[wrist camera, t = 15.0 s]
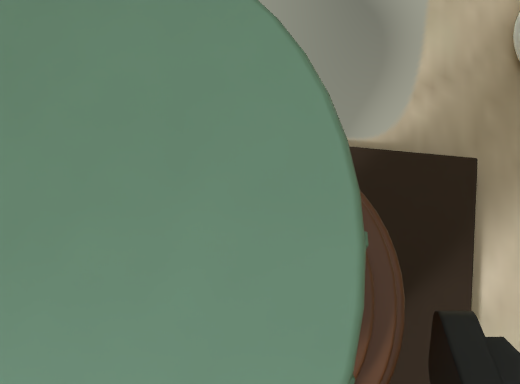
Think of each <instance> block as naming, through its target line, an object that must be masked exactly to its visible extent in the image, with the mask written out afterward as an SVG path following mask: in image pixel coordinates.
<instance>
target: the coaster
mask: <svg viewBox="0 0 520 384" xmlns="http://www.w3.org/2000/svg"><path fill="white" fill-rule="evenodd" d="M349 148H350V152H351V156H352V160H353V164H354V168H355V172H356V177H357V181H358V185H359V189H360V191H361V192H362V193H363V194H364V195H365V197H366V198H367V199H368V201H369V202H370V203H371V205H372V206H373V207H374V209H375V210H376V211H377V213H378V215H379V217H380V219H381V220H382V222H383V224H384V226H385V227H386V229H387V231H388V233H389V236H390V238H391V241H392V243H393V246H394V248H395V251H396V254H397V258H398V262H399V266H400V269H401V273H402V280H403V288H404V296H405V324H404V331H403V338H402V345H401V350H400V353H399V357H398V360H397V364H396V367H395V371H394V373H393V376H392V378H391V380H390V383H389V384H430V378H429V368H428V359H429V349H430V340H431V330H432V321H433V314H434V312H435V311H471V299H472V276H473V253H474V229H475V206H476V183H477V159H476V158H467V157H456V156H445V155H434V154H423V153H413V152H402V151H391V150H380V149H370V148H359V147H349Z"/></svg>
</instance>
